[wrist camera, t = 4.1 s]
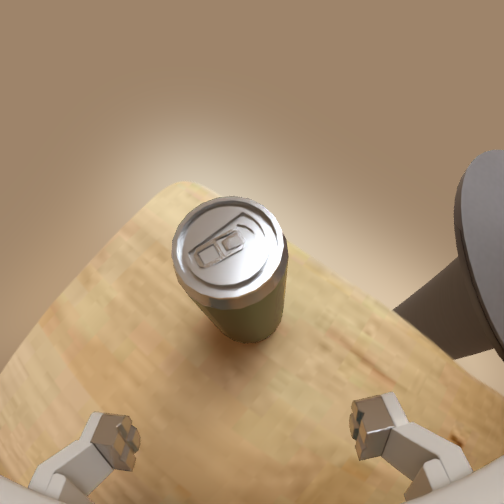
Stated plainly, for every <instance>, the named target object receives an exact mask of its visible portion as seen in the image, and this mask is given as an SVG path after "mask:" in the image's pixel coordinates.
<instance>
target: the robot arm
mask: <svg viewBox="0 0 504 504" xmlns="http://www.w3.org/2000/svg"><path fill="white" fill-rule="evenodd" d="M351 409H352V412H353V413H352V414H351V415H350V418H349V427H350V432H351V436H352V438H353V439H355V440H356V445H355V449H356V452H357V455H358V458H359V461H360V460H365V459H369V458H374V457H378V456H381V457H382V458H384V459H385V460H386V461H387V462H389V463H390V464H391V465H392V466H394V467H395V468H396V469H397V470H399V471H400V472H401V473H403V474H404V475H405V476H407V477H408V478H409V479H410V480H412V481H413V482H412V483H411V485H410V486H409V488H408V489H407V491H406V492H405V493H404V497H405V500H406V502H403V503H401V504H504V455H502V456H500V457H499V458H497V459H496V460H494V461H492V462H491V463H489V464H487V465H485V466H484V467H482V468H480V469H478V470H476V471H474V472H473V470H472V468H471V466H470V464H469V462H468V460H467V459H466V457H465V455H464V453H463V451H462V449H461V447H460V446H458V445H456V444H454V443H452V442H450V441H448V440H446V439H444V438H442V437H440V436H438V435H436V434H435V433H433V432H431V431H429V430H427V429H425V428H424V427H422V426H420V425H418V424H416V423H414V422H410V423H409V421H408V419H407V417H406V415H405V413H404V411H403V409H402V407H401V405H400V403H399V401H398V399H397V397H396V395H395V393H393V392H389V393H385V394H381V395H376V396H372V397H368V398H363V399H359V400H355V401H353V402H352V406H351ZM131 424H132V420H131V418H130V417H129V416H126V415H118V414H110V413H102V412H95V411H94V412H93V413H92V414H91V416H90V418H89V420H88V422H87V424H86V426H85V428H84V430H83V432H82V435H81V437H80V439H79V441H78V440H75V441H74V442H72V443H71V444H69V445H68V446H67V447H65V448H64V449H62V450H61V451H59V452H58V453H56V454H55V455H53V456H52V457H50V458H49V459H47V460H46V461H44V462H43V463H41V464H40V465H38V467H37V469H36V471H35V473H34V475H33V477H32V479H31V481H30V484H29V486H28V488H26V487H24V486H22V485H20V484H18V483H16V482H14V481H12V480H10V479H8V478H6V477H4V476H2V475H0V504H95V503H94V502H93V501H91V500H90V499H89V498H88V497H87V496H88V495H89V494H90V493H91V492H92V491H93V490H94V489H95V488H96V487H97V486H98V485H99V484H100V483H101V482H102V481H103V480H104V479H105V478H106V477H107V476H108V475H109V474H110V473H111V472H112V471H113V470H114V469H118V470H125V471H133V468H134V465H135V461H136V457H135V455H134V453H136V452H137V451H138V450H139V447H140V434H139V432H138V430H137V428H135V427H134V426H133V425H131Z"/></svg>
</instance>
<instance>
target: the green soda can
mask: <svg viewBox="0 0 504 504" xmlns="http://www.w3.org/2000/svg"><path fill="white" fill-rule="evenodd" d="M172 259H173V263H174V265H173V266H174V269H175V273H176V276H177V279H178V282H179V283H180V285H181V286H182V287H183V289H184V290H185V292H186V293H187V294H188V295H189V297H190V298H191V299H192V300H193V301H194V302H195V303H196V304H197V306H198V307H199V308H200V309H201V310H202V311H203V312H204V313H205V314H206V315H207V317H208V318H209V319H210V320H211V321H212V322H213V323H214V324H215V325H216V326H217V327H218V328H219V329H220V331H221V332H222V333H223V334H224V335H226V336H227V337H229V338H230V339H232V340H234V341H237V342H241V343H255V342H258V341H261V340H263V339H266V338H267V337H268V336H269V335H271V334H272V333H273V332H274V331H275V330H276V328H277V327H278V325H279V323H280V322H281V318H282V313H283V307H284V297H285V287H286V276H287V266H288V249H287V241H286V238H285V236H284V234H283V232H282V230H281V228H280V226H279V224H278V222H277V220H276V218H275V216H274V215H273V214H272V213H271V212H270V211H269V210H268V209H267V208H265V207H264V206H263V205H261V204H259V203H257V202H255V201H253V200H251V199H248V198H242V197H236V196H229V197H219V198H215V199H212V200H210V201H207V202H204V203H202V204H200V205H199V206H197V207H196V208H195V209H193V210H192V211H191V212H189V213H188V214H187V215H186V217H185V218H184V219H183V220H182V222H181V223H180V224H179V225H178V228H177V230H176V233H175V235H174V238H173V240H172Z"/></svg>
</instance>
